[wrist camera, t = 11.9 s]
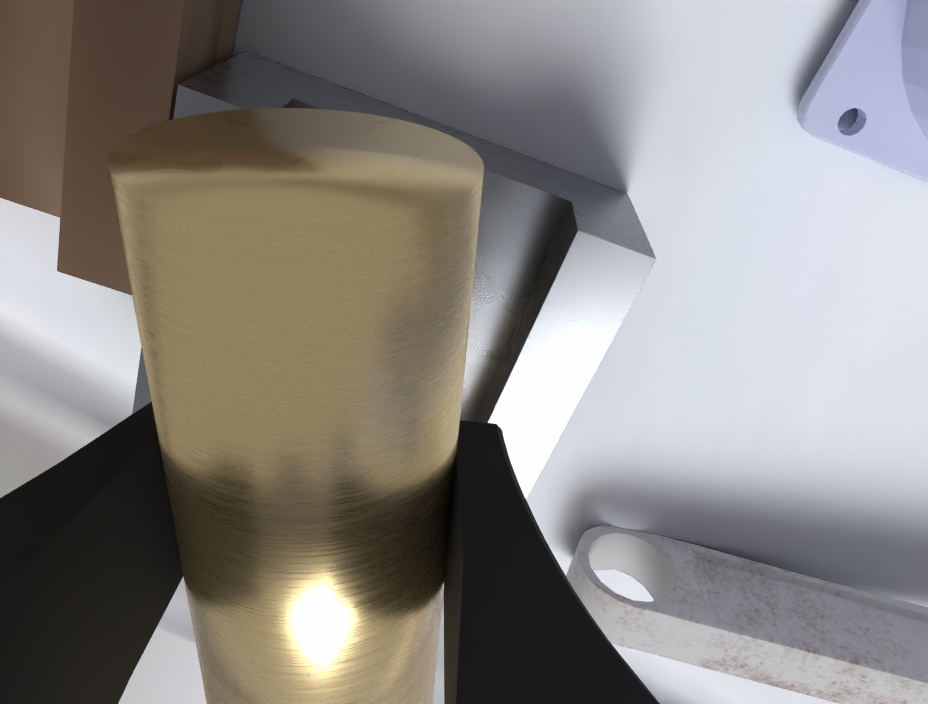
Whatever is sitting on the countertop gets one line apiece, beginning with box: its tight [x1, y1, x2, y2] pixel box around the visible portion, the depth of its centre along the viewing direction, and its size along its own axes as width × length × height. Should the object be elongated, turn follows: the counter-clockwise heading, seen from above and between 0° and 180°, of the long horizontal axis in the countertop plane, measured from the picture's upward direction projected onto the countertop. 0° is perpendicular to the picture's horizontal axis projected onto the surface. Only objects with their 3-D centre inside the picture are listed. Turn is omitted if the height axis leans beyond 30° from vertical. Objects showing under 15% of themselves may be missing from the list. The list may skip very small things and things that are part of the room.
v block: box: [132, 51, 656, 499], centre depth 16 cm, size 8×8×4 cm
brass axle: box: [108, 108, 484, 704], centre depth 11 cm, size 12×4×4 cm, turn 175°
